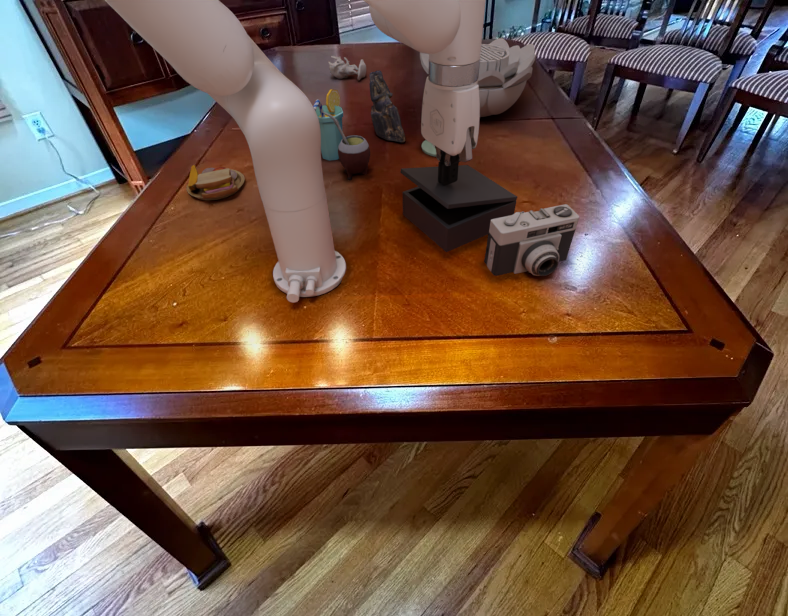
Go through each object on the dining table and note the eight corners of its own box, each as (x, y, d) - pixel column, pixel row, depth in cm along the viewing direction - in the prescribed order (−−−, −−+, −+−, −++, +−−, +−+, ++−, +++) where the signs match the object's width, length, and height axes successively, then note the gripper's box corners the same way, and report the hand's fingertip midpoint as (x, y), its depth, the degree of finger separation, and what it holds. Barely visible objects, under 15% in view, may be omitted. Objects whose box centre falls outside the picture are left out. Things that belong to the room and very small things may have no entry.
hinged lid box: (446, 255, 81) (447, 228, 77) (402, 217, 90) (402, 191, 86) (511, 227, 86) (516, 200, 82) (464, 194, 95) (466, 168, 91)
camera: (503, 294, 73) (512, 245, 66) (482, 263, 79) (489, 215, 72) (578, 276, 76) (596, 227, 69) (553, 248, 81) (566, 200, 74)
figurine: (365, 68, 140) (327, 61, 140) (363, 88, 145) (326, 81, 144) (368, 56, 146) (332, 49, 146) (366, 76, 151) (331, 70, 150)
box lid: (447, 208, 74) (448, 204, 73) (400, 172, 82) (400, 168, 82) (516, 200, 82) (517, 196, 82) (466, 168, 91) (467, 164, 90)
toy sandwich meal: (247, 170, 105) (241, 151, 102) (244, 201, 96) (238, 181, 92) (192, 177, 104) (184, 157, 100) (183, 208, 94) (175, 188, 91)
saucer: (464, 156, 107) (464, 154, 106) (422, 157, 107) (422, 155, 107) (459, 137, 114) (459, 135, 114) (420, 139, 114) (420, 137, 114)
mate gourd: (377, 170, 103) (373, 104, 93) (358, 186, 99) (351, 118, 88) (350, 163, 106) (343, 98, 95) (330, 178, 101) (321, 111, 91)
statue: (395, 148, 111) (393, 84, 100) (366, 132, 118) (361, 71, 107) (412, 141, 113) (412, 77, 103) (383, 126, 120) (380, 65, 109)
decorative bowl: (554, 121, 119) (568, 59, 109) (454, 142, 112) (459, 78, 102) (495, 84, 139) (502, 29, 129) (407, 100, 132) (407, 43, 122)
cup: (339, 172, 103) (330, 105, 93) (307, 170, 104) (295, 104, 94) (354, 145, 113) (348, 81, 102) (324, 143, 114) (315, 80, 103)
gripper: (405, 63, 70) (407, 171, 83) (464, 92, 61) (456, 207, 74) (444, 54, 73) (439, 159, 86) (506, 79, 64) (491, 193, 77)
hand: (447, 181), depth 80 cm, fingers closed
